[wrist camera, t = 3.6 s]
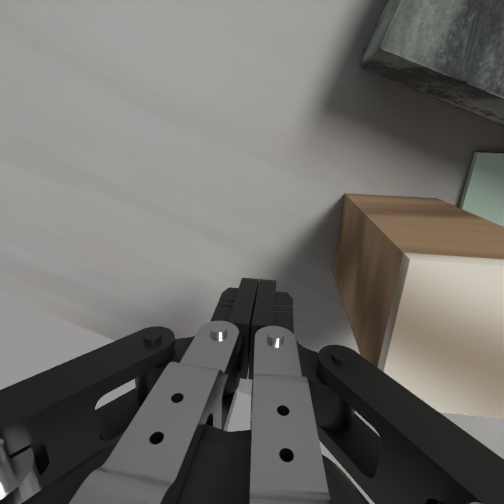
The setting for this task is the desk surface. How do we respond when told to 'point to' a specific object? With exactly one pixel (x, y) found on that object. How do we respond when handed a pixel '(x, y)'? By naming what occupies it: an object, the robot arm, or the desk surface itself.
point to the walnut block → (426, 298)
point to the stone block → (443, 51)
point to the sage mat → (485, 187)
